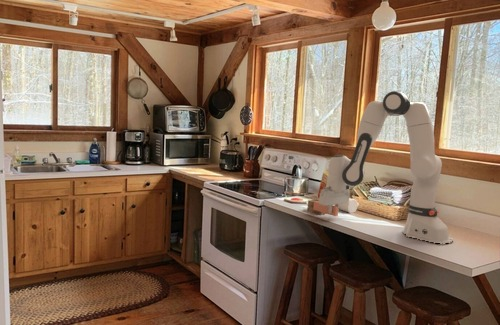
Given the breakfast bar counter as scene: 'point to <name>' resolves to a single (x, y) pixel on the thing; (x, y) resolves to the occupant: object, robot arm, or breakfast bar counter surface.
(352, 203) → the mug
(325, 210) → the orange rectangular bar
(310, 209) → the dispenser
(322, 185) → the milk carton
